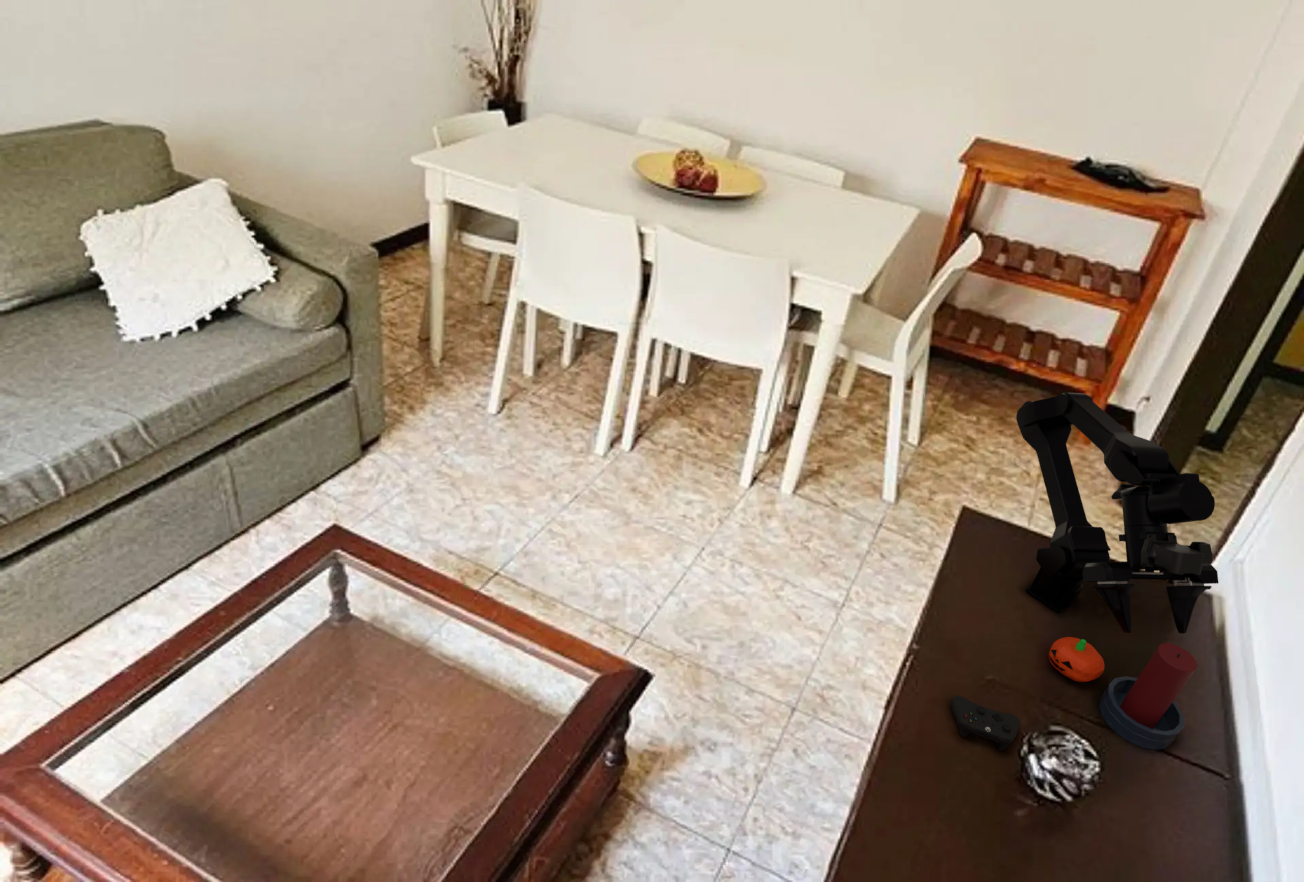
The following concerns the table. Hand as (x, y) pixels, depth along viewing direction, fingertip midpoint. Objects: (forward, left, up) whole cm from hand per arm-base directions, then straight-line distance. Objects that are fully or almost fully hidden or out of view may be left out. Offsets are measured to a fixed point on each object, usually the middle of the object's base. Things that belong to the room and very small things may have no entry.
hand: (1155, 633), depth 128 cm
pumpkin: (-7, -3, -13) cm, 15 cm away
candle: (+4, -3, -12) cm, 13 cm away
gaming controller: (-9, -25, -13) cm, 30 cm away
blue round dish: (+4, -3, -13) cm, 14 cm away
